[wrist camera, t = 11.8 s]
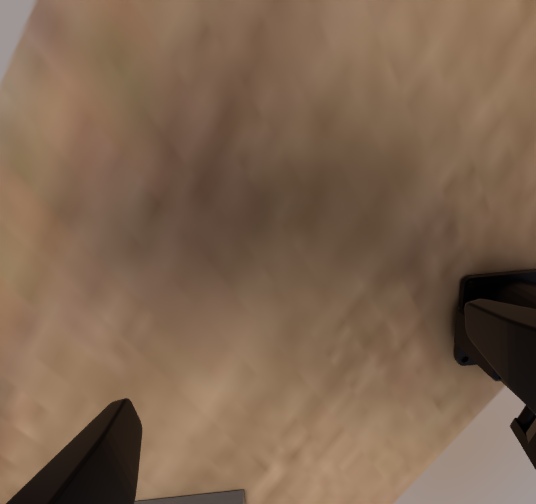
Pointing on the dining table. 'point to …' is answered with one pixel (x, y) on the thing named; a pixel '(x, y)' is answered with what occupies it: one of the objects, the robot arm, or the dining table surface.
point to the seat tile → (202, 499)
